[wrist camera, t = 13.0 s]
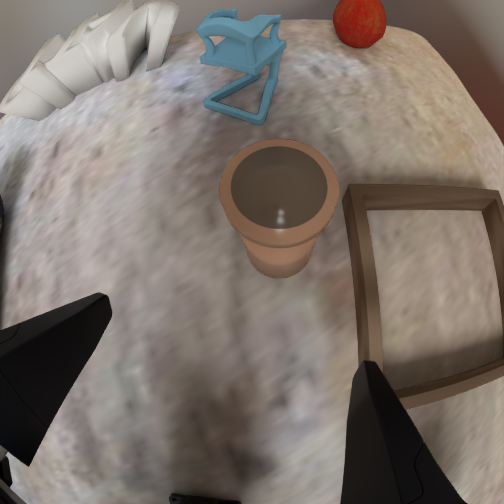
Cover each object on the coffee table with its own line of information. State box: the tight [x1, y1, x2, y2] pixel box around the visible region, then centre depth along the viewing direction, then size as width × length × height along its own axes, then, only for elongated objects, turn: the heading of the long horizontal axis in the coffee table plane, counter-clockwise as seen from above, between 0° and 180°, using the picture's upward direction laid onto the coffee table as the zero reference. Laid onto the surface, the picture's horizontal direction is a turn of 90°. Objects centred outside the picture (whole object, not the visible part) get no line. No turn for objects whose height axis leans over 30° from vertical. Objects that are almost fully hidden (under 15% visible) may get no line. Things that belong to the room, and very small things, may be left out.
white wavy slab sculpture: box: [0, 0, 179, 121], centre depth 31 cm, size 35×16×11 cm, turn 97°
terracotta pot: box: [219, 139, 339, 278], centre depth 19 cm, size 6×6×10 cm
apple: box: [333, 0, 387, 48], centre depth 28 cm, size 8×8×11 cm
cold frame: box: [342, 184, 504, 410], centre depth 20 cm, size 18×18×3 cm
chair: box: [196, 9, 286, 125], centre depth 24 cm, size 8×8×12 cm
